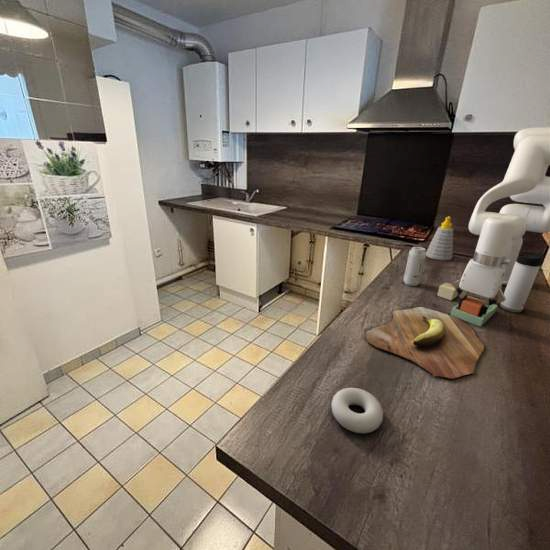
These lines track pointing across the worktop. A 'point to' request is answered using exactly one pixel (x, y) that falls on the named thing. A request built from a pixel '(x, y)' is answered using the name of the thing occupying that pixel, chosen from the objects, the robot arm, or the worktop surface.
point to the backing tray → (471, 318)
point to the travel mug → (521, 281)
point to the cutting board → (430, 341)
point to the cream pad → (447, 291)
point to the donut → (355, 420)
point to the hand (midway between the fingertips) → (471, 311)
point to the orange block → (471, 306)
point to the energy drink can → (414, 266)
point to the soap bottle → (442, 242)
